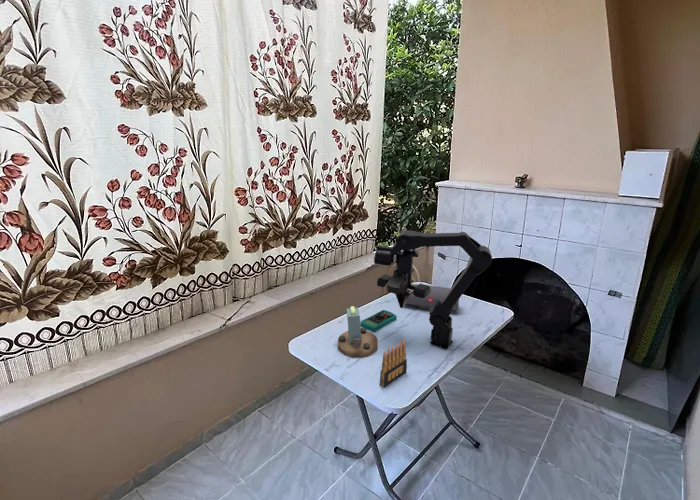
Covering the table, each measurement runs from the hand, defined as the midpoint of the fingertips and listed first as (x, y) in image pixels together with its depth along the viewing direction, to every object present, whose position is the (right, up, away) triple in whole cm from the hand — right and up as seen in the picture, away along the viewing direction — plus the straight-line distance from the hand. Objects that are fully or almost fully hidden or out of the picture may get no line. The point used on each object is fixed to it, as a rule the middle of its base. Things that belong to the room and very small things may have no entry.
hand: (401, 307), depth 136 cm
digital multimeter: (-7, -9, +14) cm, 18 cm away
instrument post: (-17, -11, -3) cm, 20 cm away
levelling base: (-17, -13, -2) cm, 22 cm away
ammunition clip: (-5, -19, -20) cm, 28 cm away
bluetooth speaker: (+16, -4, +27) cm, 32 cm away
